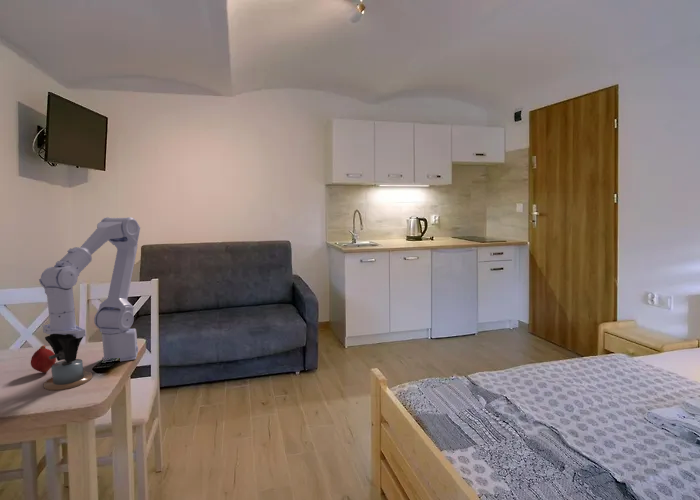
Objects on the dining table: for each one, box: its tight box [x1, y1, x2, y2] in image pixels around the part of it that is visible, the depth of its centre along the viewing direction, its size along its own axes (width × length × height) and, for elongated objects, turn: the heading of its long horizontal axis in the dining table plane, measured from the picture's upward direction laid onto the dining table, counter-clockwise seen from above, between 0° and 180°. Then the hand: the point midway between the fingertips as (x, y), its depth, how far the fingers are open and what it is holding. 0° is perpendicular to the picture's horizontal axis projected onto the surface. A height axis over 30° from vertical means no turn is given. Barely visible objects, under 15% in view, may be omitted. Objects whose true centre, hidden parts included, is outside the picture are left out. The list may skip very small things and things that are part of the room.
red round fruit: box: [30, 345, 57, 374], centre depth 120 cm, size 6×6×8 cm
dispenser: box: [43, 358, 93, 391], centre depth 114 cm, size 11×11×6 cm
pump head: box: [49, 350, 66, 362], centre depth 112 cm, size 5×5×3 cm
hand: (66, 360), depth 113 cm, fingers closed on pump head, 3 cm apart
